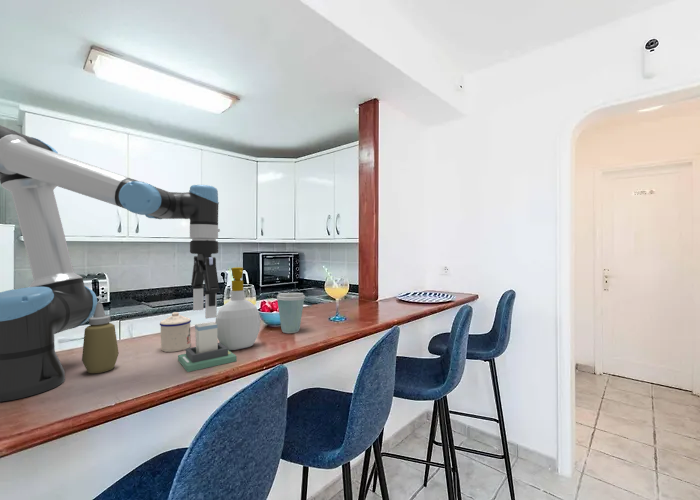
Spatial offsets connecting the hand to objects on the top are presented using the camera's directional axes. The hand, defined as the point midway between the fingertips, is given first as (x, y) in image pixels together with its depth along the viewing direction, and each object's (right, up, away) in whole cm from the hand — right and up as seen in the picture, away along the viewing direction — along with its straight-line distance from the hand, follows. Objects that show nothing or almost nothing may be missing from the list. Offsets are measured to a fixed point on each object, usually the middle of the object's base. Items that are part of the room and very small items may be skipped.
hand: (204, 313), depth 99 cm
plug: (+1, -12, 0) cm, 12 cm away
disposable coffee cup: (+20, -13, +32) cm, 40 cm away
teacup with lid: (-16, -14, +14) cm, 25 cm away
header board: (+1, -14, 0) cm, 14 cm away
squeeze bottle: (-25, -14, -6) cm, 30 cm away
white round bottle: (+6, -14, +12) cm, 19 cm away
